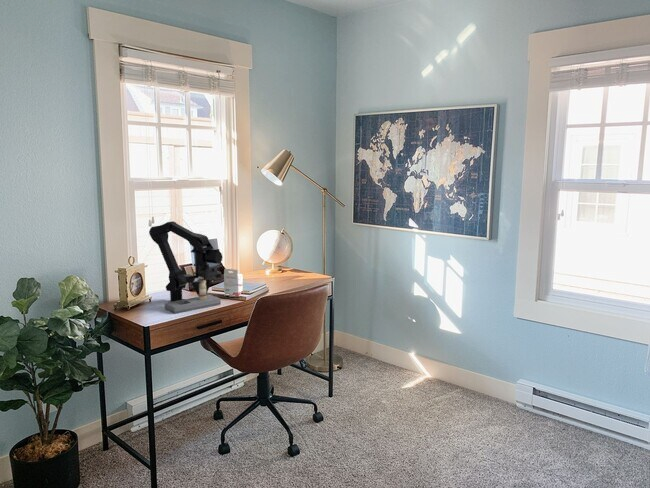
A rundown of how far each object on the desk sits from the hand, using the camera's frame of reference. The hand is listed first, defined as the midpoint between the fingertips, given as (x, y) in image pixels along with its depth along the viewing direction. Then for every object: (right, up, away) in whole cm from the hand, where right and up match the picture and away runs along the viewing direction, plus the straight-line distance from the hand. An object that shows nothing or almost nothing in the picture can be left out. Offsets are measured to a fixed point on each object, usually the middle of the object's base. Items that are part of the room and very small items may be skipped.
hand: (202, 293), depth 254 cm
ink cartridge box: (+12, -3, +18) cm, 22 cm away
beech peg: (0, -3, 0) cm, 2 cm away
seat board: (-4, -6, -3) cm, 7 cm away
